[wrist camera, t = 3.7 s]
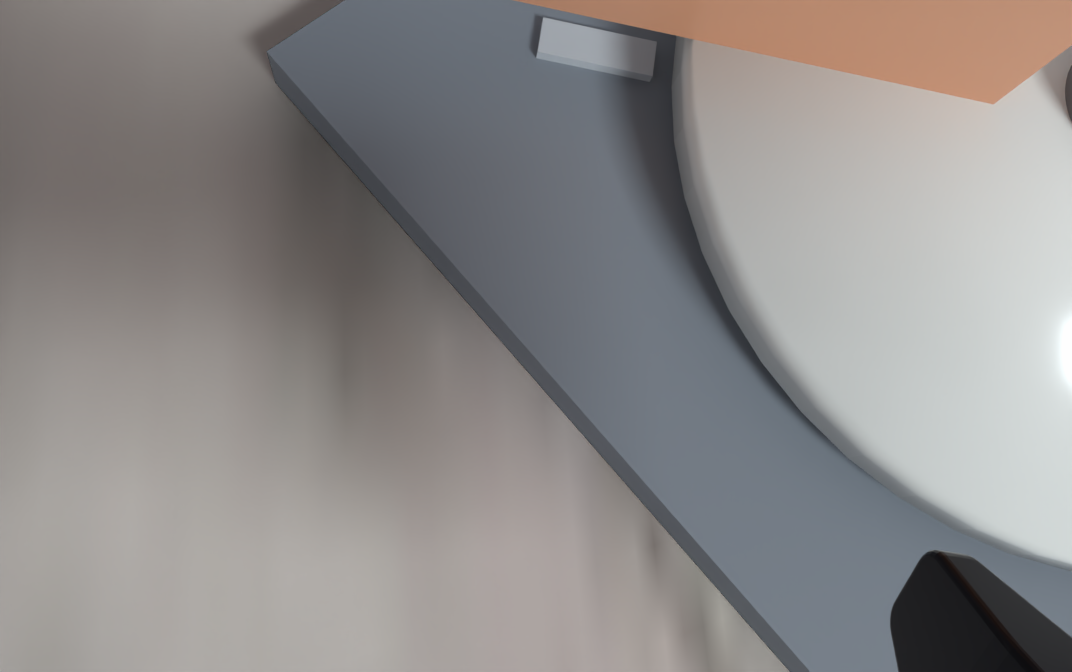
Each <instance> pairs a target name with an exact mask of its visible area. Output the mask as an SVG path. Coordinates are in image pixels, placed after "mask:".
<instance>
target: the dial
mask: <svg viewBox="0 0 1072 672" xmlns="http://www.w3.org/2000/svg"><path fill="white" fill-rule="evenodd" d="M514 1H519V2H523V3H528V4H532V5H537V6H542V7H546V8H551V9H555V10H560V11H565V12H569V13H574V14H579V15H583V16H588V17H592V18H597V19H602V20H606V21H611V22H615V23H620V24H625V25H629V26H634V27H639V28H643V29H648V30H652V31H657V32H662V33H666V34H671V35H675V36H676V44H675V54H674V65H673V75H672V86H671V89H672V110H673V131H674V144H675V149H676V155H677V160H678V166H679V171H680V177H681V182H682V187H683V193H684V198H685V201H686V204H687V207H688V210H689V213H690V216H691V220H692V223H693V226H694V229H695V232H696V235H697V238H698V241H699V244H700V248H701V251H702V254H703V256H704V258H705V260H706V262H707V264H708V267H709V269H710V271H711V273H712V275H713V277H714V279H715V282H716V284H717V286H718V288H719V290H720V292H721V294H722V297H723V299H724V301H725V303H726V305H727V307H728V309H729V311H730V313H731V314H732V316H733V317H734V319H735V321H736V322H737V324H738V325H739V327H740V329H741V330H742V332H743V334H744V335H745V337H746V338H747V340H748V342H749V343H750V345H751V346H752V348H753V350H754V351H755V353H756V354H757V356H758V358H759V359H760V361H761V362H762V364H763V365H764V366H765V367H766V369H767V370H768V371H769V372H770V374H771V375H772V376H773V377H774V379H775V380H776V381H777V382H778V384H779V385H780V386H781V387H782V389H783V390H784V391H785V392H786V394H787V395H788V396H789V397H790V399H791V400H792V401H793V402H794V404H795V405H796V406H797V407H798V409H799V410H800V411H801V412H802V413H803V414H804V415H805V416H806V417H807V418H808V419H809V420H810V421H811V422H812V423H813V424H814V425H815V426H816V427H817V428H818V429H819V430H820V431H821V432H822V433H823V434H824V435H825V436H826V437H827V438H828V439H829V440H830V441H831V442H832V443H833V444H834V445H835V446H836V447H837V448H838V449H839V450H840V451H841V452H842V453H843V454H844V455H845V456H846V457H847V458H849V459H850V460H851V461H852V462H854V463H855V464H856V465H858V466H859V467H860V468H862V469H863V470H864V471H865V472H867V473H868V474H869V475H871V476H872V477H873V478H874V479H876V480H877V481H878V482H880V483H881V484H882V485H884V486H885V487H886V488H887V489H889V490H890V491H891V492H893V493H894V494H895V495H897V496H898V497H899V498H901V499H903V500H904V501H906V502H908V503H909V504H911V505H913V506H914V507H916V508H918V509H919V510H921V511H923V512H925V513H926V514H928V515H930V516H931V517H933V518H935V519H936V520H938V521H940V522H941V523H943V524H945V525H947V526H948V527H950V528H952V529H953V530H955V531H958V532H960V533H962V534H965V535H967V536H969V537H972V538H974V539H976V540H979V541H981V542H983V543H986V544H988V545H990V546H992V547H995V548H997V549H999V550H1002V551H1004V552H1006V553H1009V554H1011V555H1015V556H1018V557H1022V558H1025V559H1029V560H1032V561H1036V562H1039V563H1043V564H1047V565H1050V566H1054V567H1057V568H1061V569H1064V570H1068V571H1072V0H514Z"/></svg>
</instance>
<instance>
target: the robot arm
mask: <svg viewBox="0 0 1072 672" xmlns="http://www.w3.org/2000/svg"><path fill="white" fill-rule="evenodd" d="M890 630H891V636H892V641H893V646H894V652H895V657H896V662H897V668H898V672H1072V637H1071V636H1070V635H1069V634H1067V633H1066V632H1065V631H1064V630H1062V629H1061V628H1060V627H1059V626H1058V625H1056V624H1055V623H1054V622H1053V621H1051V620H1050V619H1049V618H1048V617H1047V616H1045V615H1044V614H1043V613H1042V612H1040V611H1039V610H1038V609H1037V608H1036V607H1034V606H1033V605H1032V604H1031V603H1029V602H1028V601H1027V600H1026V599H1024V598H1023V597H1022V596H1021V595H1020V594H1018V593H1017V592H1016V591H1015V590H1013V589H1012V588H1011V587H1010V586H1009V585H1007V584H1006V583H1005V582H1004V581H1002V580H1001V579H1000V578H999V577H998V576H996V575H995V574H994V573H993V572H991V571H990V570H989V569H988V568H987V567H985V566H984V565H983V564H982V563H980V562H979V561H978V560H977V559H975V558H974V557H972V556H969V555H966V554H961V553H955V552H949V551H942V550H931V551H928V552H927V553H925V554H924V555H923V556H922V557H921V558H920V560H919V561H918V563H917V565H916V566H915V568H914V570H913V571H912V573H911V575H910V577H909V578H908V580H907V582H906V583H905V585H904V587H903V588H902V590H901V592H900V593H899V595H898V597H897V598H896V600H895V602H894V604H893V607H892V610H891V615H890Z"/></svg>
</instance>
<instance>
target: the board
mask: <svg viewBox="0 0 1072 672" xmlns="http://www.w3.org/2000/svg"><path fill="white" fill-rule="evenodd" d="M675 44H676V36H675V35H671V34H666V33H662V32H657V31H652V30H648V29H643V28H639V27H634V26H629V25H625V24H620V23H615V22H611V21H606V20H602V19H597V18H592V17H588V16H583V15H579V14H574V13H569V12H565V11H560V10H555V9H551V8H546V7H542V6H537V5H532V4H528V3H523V2H519V1H514V0H344V1H343V2H341V3H340V4H338V5H337V6H335V7H334V8H332V9H331V10H329V11H327V12H326V13H324V14H323V15H321V16H320V17H318V18H317V19H315V20H314V21H312V22H311V23H309V24H308V25H306V26H305V27H303V28H302V29H300V30H299V31H297V32H295V33H294V34H292V35H291V36H289V37H288V38H286V39H285V40H283V41H282V42H280V43H279V44H277V45H276V46H274V47H273V48H271V49H270V50H268V51H267V54H268V58H269V61H270V65H271V68H272V72H273V75H274V79H275V82H276V84H277V85H278V86H279V87H280V88H281V89H282V91H283V92H284V93H285V94H286V95H287V96H288V97H289V99H290V100H291V101H292V102H293V103H294V104H295V105H296V107H297V108H298V109H299V110H300V111H301V112H302V114H303V115H304V116H305V117H306V118H307V119H308V120H309V122H310V123H311V124H312V125H313V126H314V127H315V128H316V130H317V131H318V132H319V133H320V134H321V135H322V136H323V138H324V139H325V140H326V141H327V142H328V143H329V144H330V146H331V147H332V148H333V149H334V150H335V151H336V152H337V154H338V155H339V156H340V157H341V158H342V159H343V160H344V162H345V163H346V164H347V165H348V166H349V167H350V168H351V170H352V171H353V172H354V173H355V174H356V175H357V176H358V178H359V179H360V180H361V181H362V182H363V183H364V184H365V186H366V187H367V188H368V189H369V190H370V191H371V192H372V194H373V195H374V196H375V197H376V198H377V199H378V201H379V202H380V203H381V204H382V205H383V206H384V207H385V209H386V210H387V211H388V212H389V213H390V214H391V215H392V217H393V218H394V219H395V220H396V221H397V222H398V223H399V225H400V226H401V227H402V228H403V229H404V230H405V231H406V233H407V234H408V235H409V236H410V237H411V238H412V239H413V241H414V242H415V243H416V244H417V245H418V246H419V247H420V249H421V250H422V251H423V252H424V253H425V254H426V255H427V257H428V258H429V259H430V260H431V261H432V262H433V263H434V265H435V266H436V267H437V268H438V269H439V270H440V271H441V273H442V274H443V275H444V276H445V277H446V278H447V279H448V281H449V282H450V283H451V284H452V285H453V286H454V287H455V289H456V290H457V291H458V292H459V293H460V294H461V296H462V297H463V298H464V299H465V300H466V301H467V302H468V304H469V305H470V306H471V307H472V308H473V309H474V310H475V312H476V313H477V314H478V315H479V316H480V317H481V318H482V320H483V321H484V322H485V323H486V324H487V325H488V326H489V328H490V329H491V330H492V331H493V332H494V333H495V334H496V336H497V337H498V338H499V339H500V340H501V341H502V342H503V344H504V345H505V346H506V347H507V348H508V349H509V350H510V352H511V353H512V354H513V355H514V356H515V357H516V358H517V360H518V361H519V362H520V363H521V364H522V365H523V366H524V368H525V369H526V370H527V371H528V372H529V373H530V374H531V376H532V377H533V378H534V379H535V380H536V381H537V382H538V384H539V385H540V386H541V387H542V388H543V389H544V391H545V392H546V393H547V394H548V395H549V396H550V397H551V399H552V400H553V401H554V402H555V403H556V404H557V405H558V407H559V408H560V409H561V410H562V411H563V412H564V413H565V415H566V416H567V417H568V418H569V419H570V420H571V421H572V423H573V424H574V425H575V426H576V427H577V428H578V429H579V431H580V432H581V433H582V434H583V435H584V436H585V437H586V439H587V440H588V441H589V442H590V443H591V444H592V445H593V447H594V448H595V449H596V450H597V451H598V452H599V453H600V455H601V456H602V457H603V458H604V459H605V460H606V461H607V463H608V464H609V465H610V466H611V467H612V468H613V469H614V471H615V472H616V473H617V474H618V475H619V476H620V477H621V479H622V480H623V481H624V482H625V483H626V484H627V486H628V487H629V488H630V489H631V490H632V491H633V492H634V494H635V495H636V496H637V497H638V498H639V499H640V500H641V502H642V503H643V504H644V505H645V506H646V507H647V508H648V510H649V511H650V512H651V513H652V514H653V515H654V516H655V518H656V519H657V520H658V521H659V522H660V523H661V524H662V526H663V527H664V528H665V529H666V530H667V531H668V532H669V534H670V535H671V536H672V537H673V538H674V539H675V540H676V542H677V543H678V544H679V545H680V546H681V547H682V548H683V550H684V551H685V552H686V553H687V554H688V555H689V556H690V558H691V559H692V560H693V561H694V562H695V563H696V564H697V566H698V567H699V568H700V569H701V570H702V571H703V572H704V574H705V575H706V576H707V577H708V578H709V579H710V581H711V582H712V583H713V584H714V585H715V586H716V587H717V589H718V590H719V591H720V592H721V593H722V594H723V595H724V597H725V598H726V599H727V600H728V601H729V602H730V603H731V605H732V606H733V607H734V608H735V609H736V610H737V611H738V613H739V614H740V615H741V616H742V617H743V618H744V619H745V621H746V622H747V623H748V624H749V625H750V626H751V627H752V629H753V630H754V631H755V632H756V633H757V634H758V635H759V637H760V638H761V639H762V640H763V641H764V642H765V643H766V645H767V646H768V647H769V648H770V649H771V650H772V651H773V653H774V654H775V655H776V656H777V657H778V658H779V659H780V661H781V662H782V663H783V664H784V665H785V666H786V667H787V669H788V670H789V671H790V672H898V668H897V662H896V657H895V652H894V646H893V641H892V636H891V630H890V615H891V610H892V607H893V604H894V602H895V600H896V598H897V597H898V595H899V593H900V592H901V590H902V588H903V587H904V585H905V583H906V582H907V580H908V578H909V577H910V575H911V573H912V571H913V570H914V568H915V566H916V565H917V563H918V561H919V560H920V558H921V557H922V556H923V555H924V554H925V553H927V552H928V551H931V550H942V551H949V552H955V553H961V554H966V555H969V556H972V557H974V558H975V559H977V560H978V561H979V562H980V563H982V564H983V565H984V566H985V567H987V568H988V569H989V570H990V571H991V572H993V573H994V574H995V575H996V576H998V577H999V578H1000V579H1001V580H1002V581H1004V582H1005V583H1006V584H1007V585H1009V586H1010V587H1011V588H1012V589H1013V590H1015V591H1016V592H1017V593H1018V594H1020V595H1021V596H1022V597H1023V598H1024V599H1026V600H1027V601H1028V602H1029V603H1031V604H1032V605H1033V606H1034V607H1036V608H1037V609H1038V610H1039V611H1040V612H1042V613H1043V614H1044V615H1045V616H1047V617H1048V618H1049V619H1050V620H1051V621H1053V622H1054V623H1055V624H1056V625H1058V626H1059V627H1060V628H1061V629H1062V630H1064V631H1065V632H1066V633H1067V634H1069V635H1070V636H1071V637H1072V571H1068V570H1064V569H1061V568H1057V567H1054V566H1050V565H1047V564H1043V563H1039V562H1036V561H1032V560H1029V559H1025V558H1022V557H1018V556H1015V555H1011V554H1009V553H1006V552H1004V551H1002V550H999V549H997V548H995V547H992V546H990V545H988V544H986V543H983V542H981V541H979V540H976V539H974V538H972V537H969V536H967V535H965V534H962V533H960V532H958V531H955V530H953V529H952V528H950V527H948V526H947V525H945V524H943V523H941V522H940V521H938V520H936V519H935V518H933V517H931V516H930V515H928V514H926V513H925V512H923V511H921V510H919V509H918V508H916V507H914V506H913V505H911V504H909V503H908V502H906V501H904V500H903V499H901V498H899V497H898V496H897V495H895V494H894V493H893V492H891V491H890V490H889V489H887V488H886V487H885V486H884V485H882V484H881V483H880V482H878V481H877V480H876V479H874V478H873V477H872V476H871V475H869V474H868V473H867V472H865V471H864V470H863V469H862V468H860V467H859V466H858V465H856V464H855V463H854V462H852V461H851V460H850V459H849V458H847V457H846V456H845V455H844V454H843V453H842V452H841V451H840V450H839V449H838V448H837V447H836V446H835V445H834V444H833V443H832V442H831V441H830V440H829V439H828V438H827V437H826V436H825V435H824V434H823V433H822V432H821V431H820V430H819V429H818V428H817V427H816V426H815V425H814V424H813V423H812V422H811V421H810V420H809V419H808V418H807V417H806V416H805V415H804V414H803V413H802V412H801V411H800V410H799V409H798V407H797V406H796V405H795V404H794V402H793V401H792V400H791V399H790V397H789V396H788V395H787V394H786V392H785V391H784V390H783V389H782V387H781V386H780V385H779V384H778V382H777V381H776V380H775V379H774V377H773V376H772V375H771V374H770V372H769V371H768V370H767V369H766V367H765V366H764V365H763V364H762V362H761V361H760V359H759V358H758V356H757V354H756V353H755V351H754V350H753V348H752V346H751V345H750V343H749V342H748V340H747V338H746V337H745V335H744V334H743V332H742V330H741V329H740V327H739V325H738V324H737V322H736V321H735V319H734V317H733V316H732V314H731V313H730V311H729V309H728V307H727V305H726V303H725V301H724V299H723V297H722V294H721V292H720V290H719V288H718V286H717V284H716V282H715V279H714V277H713V275H712V273H711V271H710V269H709V267H708V264H707V262H706V260H705V258H704V256H703V254H702V251H701V248H700V244H699V241H698V238H697V235H696V232H695V229H694V226H693V223H692V220H691V216H690V213H689V210H688V207H687V204H686V201H685V198H684V193H683V187H682V182H681V177H680V171H679V166H678V160H677V155H676V149H675V144H674V131H673V110H672V89H671V86H672V75H673V65H674V54H675Z"/></svg>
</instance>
